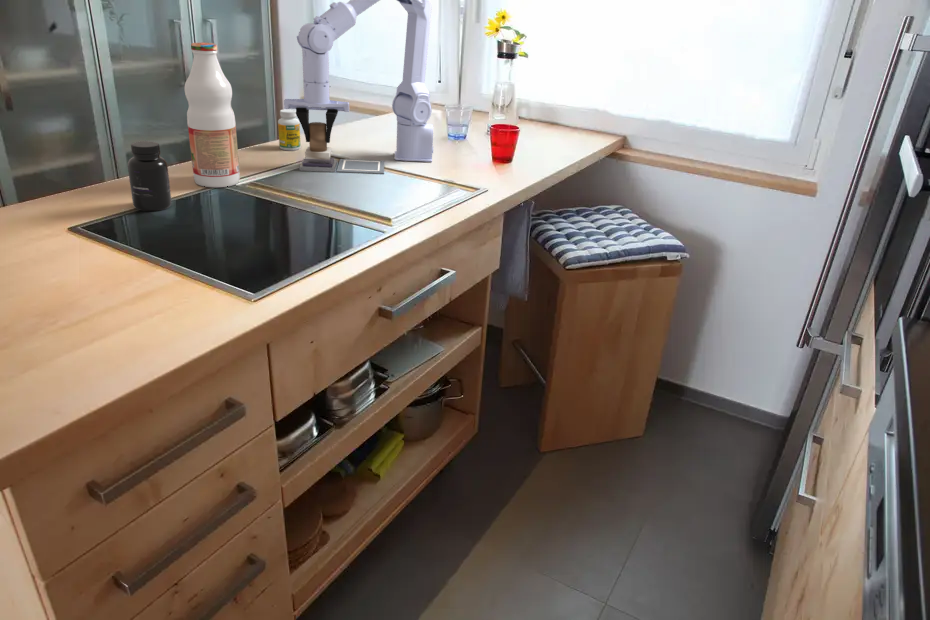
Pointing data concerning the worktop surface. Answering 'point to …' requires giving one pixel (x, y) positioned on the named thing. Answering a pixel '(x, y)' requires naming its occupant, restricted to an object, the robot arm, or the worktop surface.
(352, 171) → the slate mat
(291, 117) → the supplement bottle
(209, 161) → the fruit juice
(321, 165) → the ink pad
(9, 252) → the worktop surface
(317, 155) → the stamp
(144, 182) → the supplement bottle
